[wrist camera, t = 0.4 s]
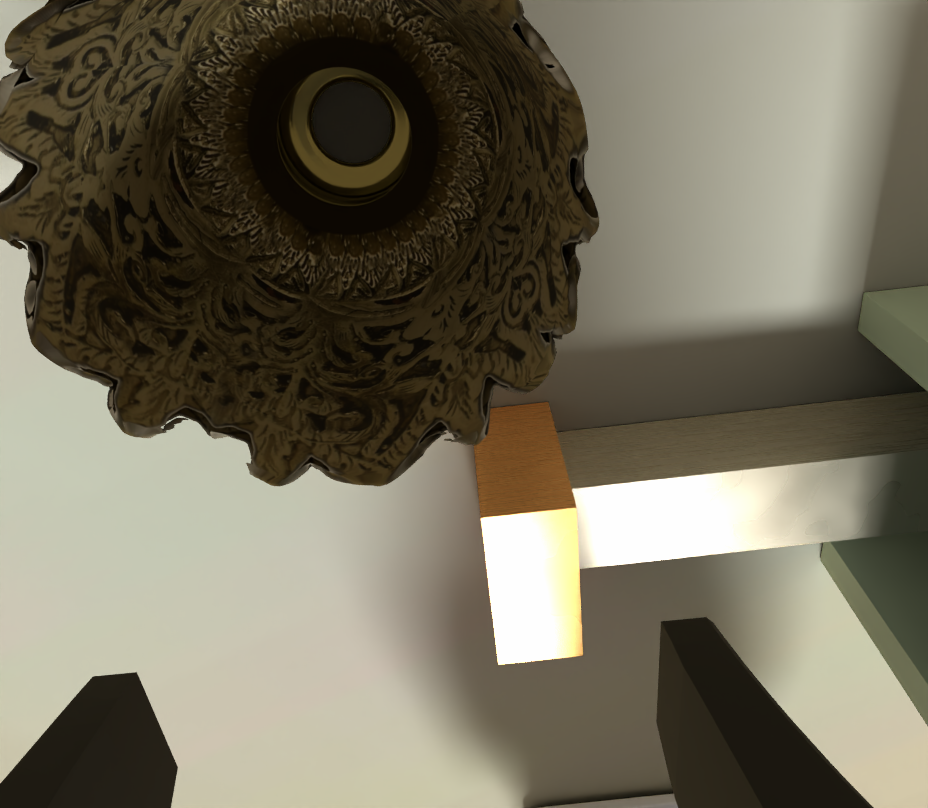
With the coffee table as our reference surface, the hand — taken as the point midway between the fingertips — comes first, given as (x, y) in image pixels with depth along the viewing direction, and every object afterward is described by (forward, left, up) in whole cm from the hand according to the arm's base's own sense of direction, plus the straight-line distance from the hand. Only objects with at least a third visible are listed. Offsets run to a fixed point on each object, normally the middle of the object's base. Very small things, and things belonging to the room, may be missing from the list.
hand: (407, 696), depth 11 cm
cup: (+6, +1, -10) cm, 12 cm away
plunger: (-4, -9, -10) cm, 14 cm away
